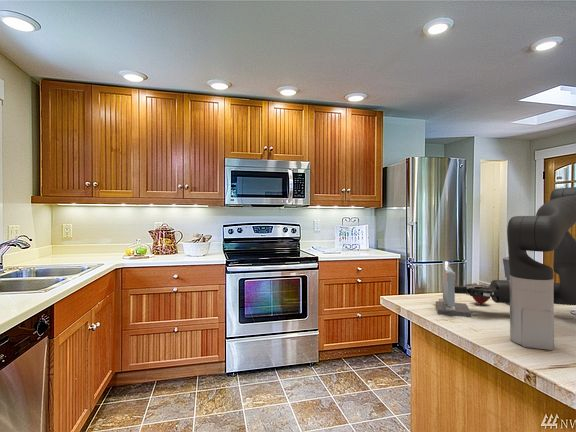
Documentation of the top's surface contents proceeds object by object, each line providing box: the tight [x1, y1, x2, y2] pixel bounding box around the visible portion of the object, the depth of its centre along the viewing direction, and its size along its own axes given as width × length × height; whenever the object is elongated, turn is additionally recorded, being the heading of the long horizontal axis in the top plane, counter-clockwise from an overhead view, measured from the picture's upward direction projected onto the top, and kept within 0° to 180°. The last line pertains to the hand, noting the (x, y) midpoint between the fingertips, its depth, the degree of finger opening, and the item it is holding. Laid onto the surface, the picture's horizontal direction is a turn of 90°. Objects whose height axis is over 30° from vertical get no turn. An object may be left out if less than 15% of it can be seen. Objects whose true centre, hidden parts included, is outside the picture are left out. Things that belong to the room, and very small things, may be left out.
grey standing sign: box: [444, 266, 456, 307], centre depth 114 cm, size 16×3×11 cm, turn 159°
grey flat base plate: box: [435, 300, 472, 318], centre depth 114 cm, size 12×10×2 cm
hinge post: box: [438, 260, 451, 302], centre depth 124 cm, size 5×5×16 cm
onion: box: [471, 282, 490, 305], centre depth 122 cm, size 6×6×8 cm
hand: (453, 289), depth 111 cm, fingers closed
